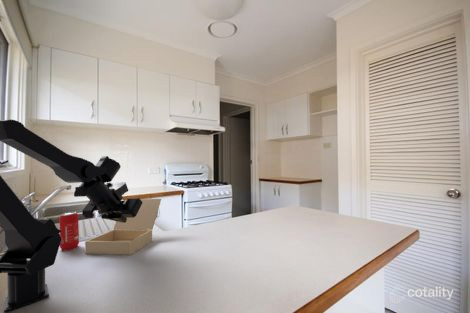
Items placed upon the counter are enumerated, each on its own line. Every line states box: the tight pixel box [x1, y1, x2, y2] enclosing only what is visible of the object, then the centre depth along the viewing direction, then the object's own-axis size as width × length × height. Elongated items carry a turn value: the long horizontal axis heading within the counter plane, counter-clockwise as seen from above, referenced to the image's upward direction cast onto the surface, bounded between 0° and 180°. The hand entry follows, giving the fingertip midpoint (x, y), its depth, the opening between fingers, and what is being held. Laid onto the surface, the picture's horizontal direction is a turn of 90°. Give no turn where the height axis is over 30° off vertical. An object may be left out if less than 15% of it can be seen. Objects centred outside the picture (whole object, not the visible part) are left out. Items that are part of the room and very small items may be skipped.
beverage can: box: [58, 211, 80, 252], centre depth 74 cm, size 5×5×12 cm
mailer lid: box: [113, 198, 162, 231], centre depth 82 cm, size 12×16×1 cm
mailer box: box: [84, 229, 153, 256], centre depth 72 cm, size 12×16×4 cm
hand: (125, 221), depth 75 cm, fingers closed
